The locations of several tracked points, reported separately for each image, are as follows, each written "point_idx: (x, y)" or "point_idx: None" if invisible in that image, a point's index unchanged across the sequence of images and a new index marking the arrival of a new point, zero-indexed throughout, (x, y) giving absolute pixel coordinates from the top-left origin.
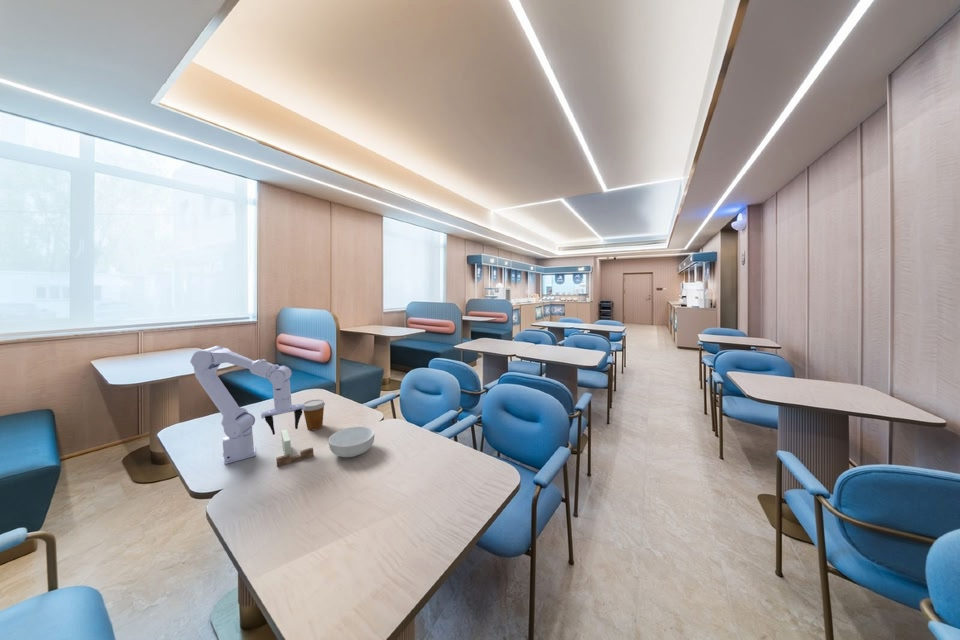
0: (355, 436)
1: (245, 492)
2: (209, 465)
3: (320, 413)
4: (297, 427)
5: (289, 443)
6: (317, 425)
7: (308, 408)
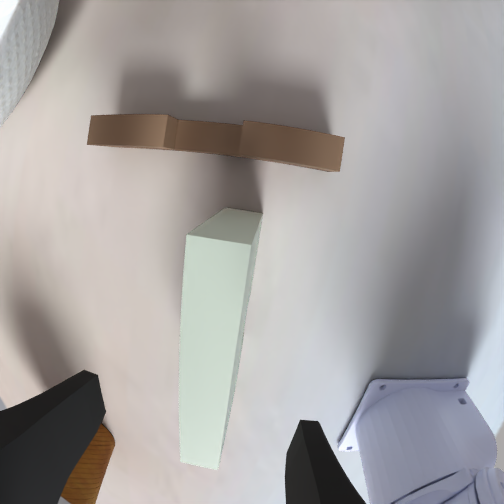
0: None
1: (474, 39)
2: (483, 399)
3: None
4: (74, 375)
5: (205, 229)
6: None
7: None
